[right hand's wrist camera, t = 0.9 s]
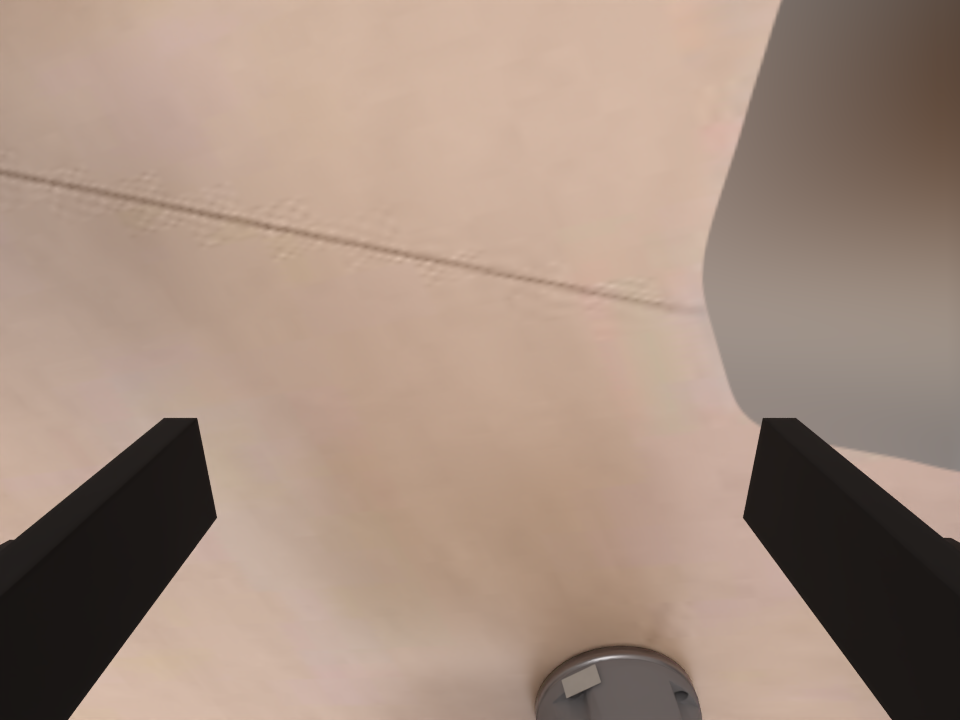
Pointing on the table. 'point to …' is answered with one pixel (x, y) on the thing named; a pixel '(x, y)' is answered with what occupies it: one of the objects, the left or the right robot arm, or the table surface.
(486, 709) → the table surface
